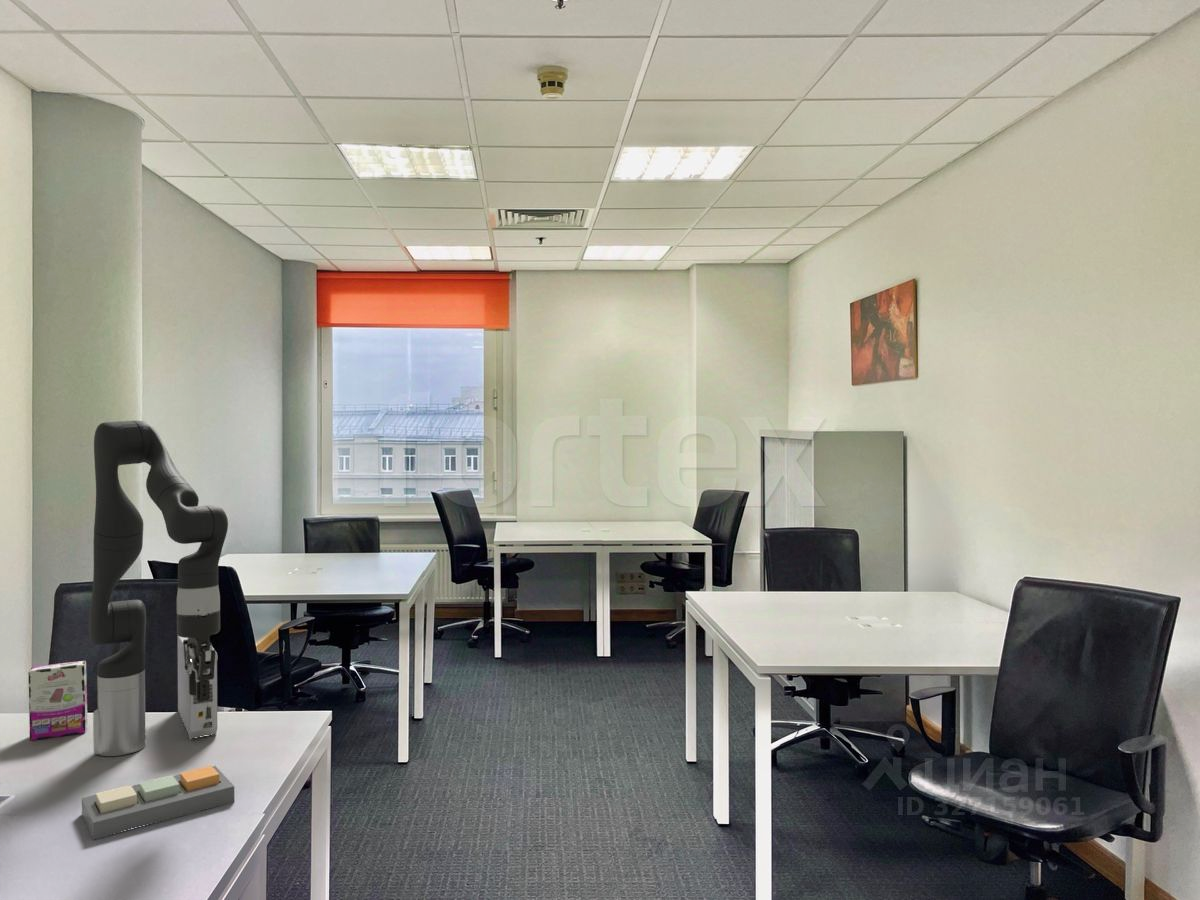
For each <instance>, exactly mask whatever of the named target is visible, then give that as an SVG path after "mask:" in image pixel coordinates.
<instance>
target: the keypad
mask: <svg viewBox="0 0 1200 900" xmlns="http://www.w3.org/2000/svg"><path fill="white" fill-rule="evenodd" d="M212 767H213V768H214V769H215V770H216V771H217V772H218V773H219V783H218V784H214V785H210V786H206V787H202V788H198V789H194V790H190V791H186V790H185V789H184V787H183V786H182V785H181V784H180V774H176V775H173V777H174V778H175V779H176V780H177V782H178V783H179V793H178V794H174V795H170V796H167V797H163V798H159V799H155V800H151V801H147V802H144V800H143V798H142V797H141V795H140V794H139V784H133V785H131V786H132V788H133V789H134V791H135V792H136V794H137V804H135V805H131V806H127V807H123V808H119V809H115V810H112V811H108V812H104V813H100V812H99V810H98V808H97V806H96V794H93V795H88V796H85V797H81V815H83V816H82V818H83V820H84V822H85V824H87V825H86V826H88V827H87V828H88V831H89V834H90V833H91V834H90V836H91V835H92V836H91V837H92V840H93V841H94V839H96V840H98V839H97V838H99V839H102V838H101V837H103V838H105V837H104V836H107V837H109V836H108V835H111V834H114V833H118V832H121V831H124V830H128V829H131V828H135V827H139V826H143V825H147V824H151V823H155V822H158V823H160V822H159V821H162V822H165V821H164V820H166V821H168V820H167V819H169V820H172V819H171V818H173V819H176V818H175V817H177V818H180V817H184V816H188V815H191V813H192V814H194V812H195V813H198V812H197V811H199V812H202V811H201V810H203V811H206V810H209V808H210V809H213V808H217V807H220V806H224V805H229V804H231V803H232V804H233V803H235V785H234V784H233V783H232V782H231V781H230V780H229V779H228V778H227V777H226V775H225V774H224V773H223V772H222V771H221V770H220V769H219V768H218V767H217V766H216V765H212ZM205 809H206V810H205ZM187 814H188V815H187ZM183 815H184V816H183ZM179 816H180V817H179ZM155 824H156V823H155ZM151 825H152V824H151ZM147 826H148V825H147ZM118 834H119V833H118ZM114 835H115V834H114ZM111 836H112V835H111Z"/></svg>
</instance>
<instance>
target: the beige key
mask: <svg viewBox="0 0 1200 900" xmlns="http://www.w3.org/2000/svg"><path fill="white" fill-rule="evenodd" d="M132 786H133V785H131V784H129V785H124V786H120V787H117V788H113V789H108V790H104V791H100V792H96V793H95V795H96V806H97V808H98V810H99V812H100V813H104V812H108V811H112V810H115V809H119V808H123V807H127V806H131V805H135V804H137V794H136V792H135V791H134V789H133V788H132Z"/></svg>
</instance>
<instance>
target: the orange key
mask: <svg viewBox="0 0 1200 900" xmlns="http://www.w3.org/2000/svg"><path fill="white" fill-rule="evenodd" d="M179 775H180V784H181V785H182V786H183V787H184V789H185V790H186V791H190V790H194V789H198V788H202V787H206V786H210V785H214V784H218V783H219V773H218V772H217V771H216V770H215V769H214V768H213V765H208V766H204V767H200V768H195V769H191V770H187V771H186V770H185V771H181V772H180V773H179Z"/></svg>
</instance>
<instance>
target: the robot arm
mask: <svg viewBox="0 0 1200 900" xmlns="http://www.w3.org/2000/svg"><path fill="white" fill-rule="evenodd" d="M93 456H94V459H93V460H94V474H95V475H94V476H95V509H94V512H95V513H94V526H93V575H92V576H93V577H92V579H93V580H92V582H93V583H92V590H91V598H90V599H91V600H90V606H89V607H90V608H89V618H88V635H89V640H90V641H91V643H92V644H93V645H95V646H105V645H111V644H112V645H114V644H120V643H126V645H125V646H124V647H123V648H122V649H121V650H119V651H118V652H116V653H114V654H113V655H110V656H108V657H106V658H104V659H102V660H100V661H99V662H98V664H97V666H96V667H97V668H96V669H97V670H96V674H97V675H96V677H97V678H96V680H97V681H96V683H97V684H96V685H97V688H96V689H97V709H95V710H94V711H93V713H92V715H93V716H92V720H93V722H92V723H93V728H92V729H93V731H92V732H93V733H92V734H93V737H92V738H93V755H99V756H101V757H102V756H103V757H119V756H125V755H129V754H132V753H135V752H139V751H140V750H142V749H144V748H145V747H146V736H147V735H146V667H145V666H146V661H145V659H146V658H145V657H146V633H147V631H146V629H147V609H146V606H145V604H144V602H143V601H142V600H141V599H127V600H117V601H110V600H111V597H112V595H113V592H114V590H115V589H116V586H117V585H118V583H119V581H120V580H121V579H122V577H124V575H125V574H126V573H127V572H128V571H129V569H130V568H131V566H132V565H134V563H135V562H136V561H137V559H138V558H139V555H141V552H142V549H143V543H144V542H143V540H144V539H143V538H144V519H143V517H142V515H141V513H140V511H139V510H138V508H137V507H136V506H135V505H134V502H132V501H131V499H130V498H129V497H128V496H127V494H126V493H125V490H124V489H123V488H122V485H121V483H120V479H119V466H125V465H136V464H139V465H140V464H142V463H145V464H147V465H149V466H150V469H149V471H148V473H147V476H146V481H145V482H146V483H145V488H146V492H147V494H148V496H149V498H150V499H151V501H152V502H153V503H154V504H155V505H156V506H157V508H158V509H159V510H160V511H161V514H162V516H163V517H162V518H163V520H164V523H165V528H166V532H167V533H166V534H167V535H168V537H169V538H170V539H171V540H172V541H174V542H175V543H178V544H181V545H188V544H198V543H200V545H199V547H198V549H197V550H196V551H195V552H194V553H190V554H189V555H188V554H187V555H185V556H183V557H181V558H180V559H179V560H178V562H177V595H176V635H177V637H178V636H180V637H184V638H188V639H186V640H183V645H184V660H185V670H187V674H188V676H189V675H190V676H189V694H190V695H196V700H197V701H198V702H203V701H208V700H209V699H210V680H211V679H214V666H215V654H216V652H217V651H216V650H215V649H214V650H213V648H214V647H213V644H212V642H211V641H210V636H213V635H216V634H218V633H219V632H220V631H221V595H220V588H219V563H220V559H221V555H222V551H223V547H224V545H225V541H226V537H227V534H228V529H229V520H228V516H227V514H226V512H225V511H224V509H223V508H222V507H220V506H219V505H214V504H213V505H212V504H211V505H210V504H209V505H199V502H200V501H199V496H198V494H197V493H196V492H197V491H195V489H194V488H193V487H192V486H191V485H190V484H189V482H187V480H186V479H185V478H184V477H183V475H181V473H180V471H179V470H178V469H177V467H176V465H175V464H174V462H173V460H172V458H171V456H170V453H169V451H168V450H167V448H166V446H165V444H164V442H163V440H162V439H161V436H160V435H159V433H158V432H157V430H156V429H155V427H154V426H153V425H152V424H151V423H149V422H148V421H145V420H125V421H124V420H123V421H122V420H121V421H119V420H118V421H107V422H105V421H104V422H101V423H99V424H98V425H97V427H96V429H95V433H94V437H93ZM212 647H213V648H212ZM215 651H216V652H215ZM190 658H191V659H190ZM205 669H206V673H207V674H203V670H205Z"/></svg>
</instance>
